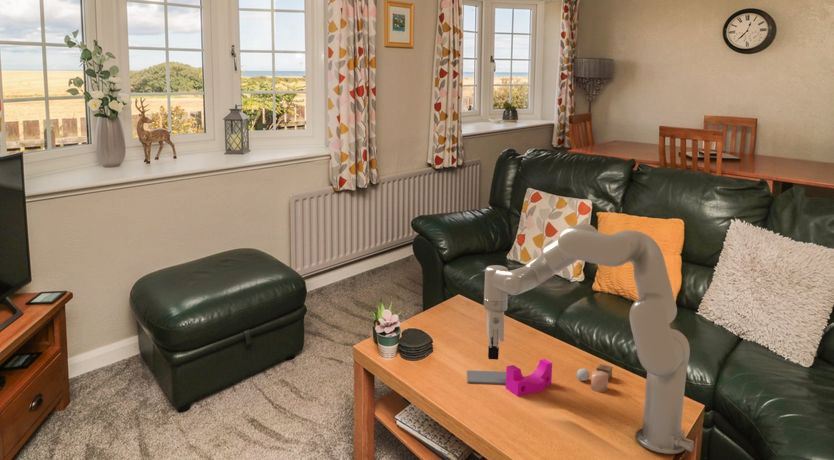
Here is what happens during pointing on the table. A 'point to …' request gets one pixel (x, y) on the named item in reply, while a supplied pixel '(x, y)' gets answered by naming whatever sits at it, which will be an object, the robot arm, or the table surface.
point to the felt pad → (486, 377)
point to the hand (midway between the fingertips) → (493, 358)
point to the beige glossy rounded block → (599, 381)
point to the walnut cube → (605, 370)
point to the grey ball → (583, 374)
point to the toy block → (529, 379)
